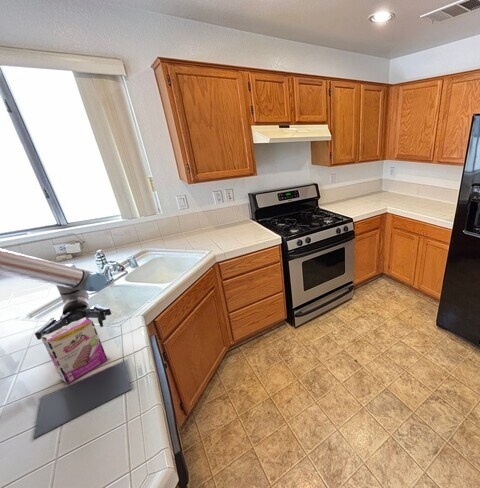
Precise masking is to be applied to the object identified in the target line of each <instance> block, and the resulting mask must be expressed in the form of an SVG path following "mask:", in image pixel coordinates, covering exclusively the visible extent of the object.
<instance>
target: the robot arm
mask: <svg viewBox="0 0 480 488" xmlns="http://www.w3.org/2000/svg"><path fill="white" fill-rule="evenodd" d="M0 276H4V277H9V278H15V279H21V280H25V281H31V282H37V283H43V284H47V285H48V284H49V285H54V286H56V288H57V290H58V292H59V295H60V298H61V300H62V301H63V305H62V306H63V307H62V313H61V314H62V315H61V316H60V317H59V318H55V317H52V318H49V320H48V322H46V323H45V324H44V325H43V326H41V327H40V328H39V329H37V330H36V331H35V332H34V335H35V337H36V339H37V340H42V338H41V337H42V336H45V335H47V334H49V333H51V332H54V331H56V330H58V329H60V328H63V327H65V326H67V325H69V324H71V323H74V322H76V321H78V320H80V319H83V318H85V317H86V318H88V319H97V322H98V324H99V327H100V328H103V327H104V321H105V320H107V316H111V315H112V311H111V308H109V307H106V306H101V305H99V304H98V303H95V304H94V305H93V306H92V307H89V304H90V303H89V297H90V296H89V294H88V292H99V291H102V290H103V289H105V288H106V287H107V283H108V278H107V275H105V274H104V273H102V272H98V271H91V270H86V269H83V268H79V267H76V265H75V264H73V263H65V264H63V263H59V262H55V261H51V260H46V259H44V258H43V259H42V258H40V257H35V256H30V255H28V254H27V255H26V254H23V253H19V252H15V251H12V250H6V249H3V248H0Z"/></svg>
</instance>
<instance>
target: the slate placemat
mask: <svg viewBox="0 0 480 488" xmlns="http://www.w3.org/2000/svg"><path fill="white" fill-rule="evenodd" d="M131 390H132V387H131V383H130V378H129V374H128V369H127V365H126V360H123V361H121V362H118V363H117V364H114V365H112V366H110V367H107V368H105V369H103V370H100V371H98V372H96V373H94V374H91V375H89V376H87V377H85V378H82V379H80V380H78V381H76V382H74V383H71V384H68V385H66V386H64V387H62V388H60V389H58V390H55V391H53V392H51V393H49V394H47V395H44V396H42V397H41V399H40V405H39V410H38V415H37V421H36V428H35V433H34V439H37V438H38V437H40V436H43V435H44V434H46V433H48V432H50V431H53V430H54V429H56V428H58V427H60V426H62V425H64V424H66V423H68V422H70V421H72V420H74V419H76V418H78V417H80V416H83V415H84V414H86V413H88V412H90V411H92V410H94V409H96V408H99V407H100V406H102V405H104V404H106V403H108V402H110V401H112V400H113V399H116V398H118V397H120V396H121V395H123V394H125V393H128V392H130V391H131Z"/></svg>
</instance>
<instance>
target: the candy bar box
mask: <svg viewBox="0 0 480 488" xmlns="http://www.w3.org/2000/svg"><path fill="white" fill-rule="evenodd" d="M41 338H42V339H41V340H42V343H43V345H44V347H45V349H46V351H47V352H48V355H49V357H50V360H51V362H52V363H53V365H54V367H55V370H56V372H57V374H58V376H59V378H60V379H61V381H63V382H65V383H66V384H67V385H70V383H71V384H72V382H74V381H76V380H77V379H79V378H81V377H82V376H84V375H85V374H87V373H89V372H90V371H92V370H94V369H95V368H98V367H99V366H101V365H102V364H104V363H105V362H107V361H108V357H107V354H106V352H105V349H104V347H103V344H102V342H101V340H100V337H99V334H98V332H97V329H96V326H95V324H94V321H93V320H92V319H91V318H86V317H85V318H83V319H80V320H78V321H74V322H72V323H70V324H69V325H67V326H64V327H62V328H60V329H58V330H56V331H54V332H51V333H49V334H47V335H45V336H42V337H41Z"/></svg>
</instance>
